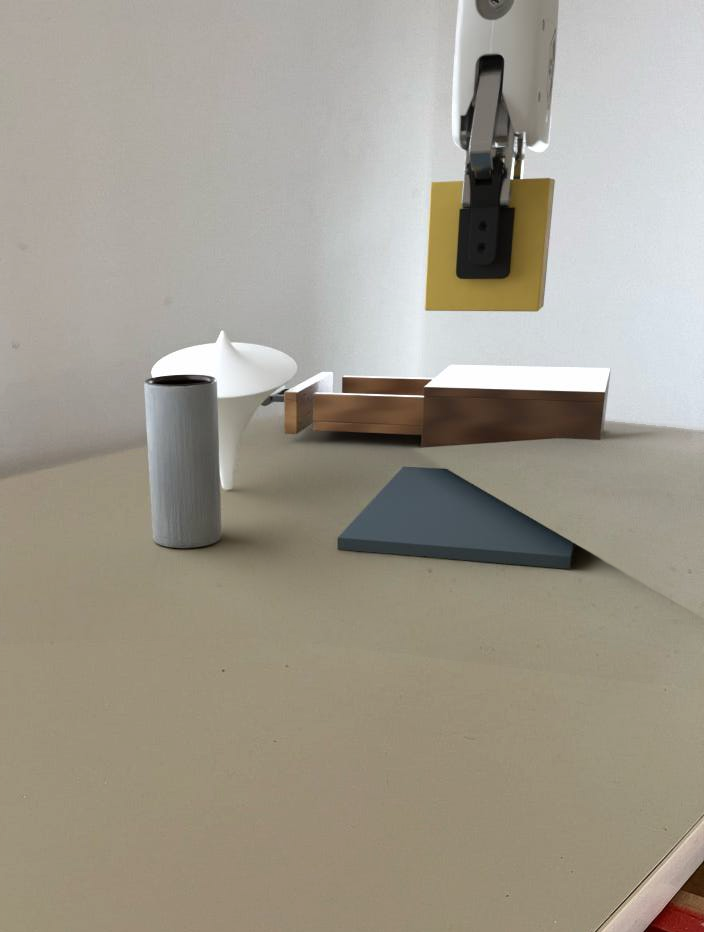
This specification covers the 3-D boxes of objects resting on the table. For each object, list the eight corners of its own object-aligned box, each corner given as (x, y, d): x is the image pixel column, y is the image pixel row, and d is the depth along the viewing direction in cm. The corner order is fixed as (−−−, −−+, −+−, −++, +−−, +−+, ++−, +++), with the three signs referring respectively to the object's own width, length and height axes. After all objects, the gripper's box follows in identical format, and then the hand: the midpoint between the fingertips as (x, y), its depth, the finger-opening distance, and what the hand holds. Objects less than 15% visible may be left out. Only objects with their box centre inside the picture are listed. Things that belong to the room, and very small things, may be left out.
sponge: (424, 310, 65) (430, 181, 63) (434, 306, 68) (440, 183, 66) (538, 311, 63) (550, 177, 60) (543, 306, 66) (555, 179, 63)
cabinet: (420, 452, 90) (423, 386, 88) (447, 422, 101) (450, 364, 99) (597, 460, 85) (605, 392, 83) (603, 429, 96) (610, 368, 94)
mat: (402, 476, 82) (403, 466, 82) (587, 486, 77) (588, 476, 77) (337, 549, 65) (337, 537, 64) (569, 569, 60) (571, 556, 60)
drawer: (244, 431, 96) (243, 390, 94) (285, 408, 106) (284, 370, 105) (431, 440, 90) (433, 396, 88) (454, 415, 100) (457, 375, 99)
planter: (221, 548, 66) (216, 384, 62) (150, 550, 66) (140, 386, 62) (222, 528, 70) (217, 373, 66) (155, 529, 70) (147, 375, 66)
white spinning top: (300, 505, 74) (300, 334, 70) (152, 508, 75) (142, 338, 70) (294, 472, 84) (294, 319, 79) (163, 475, 84) (155, 323, 80)
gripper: (571, -116, 50) (536, 285, 57) (589, -45, 64) (559, 269, 71) (416, -97, 52) (401, 285, 59) (466, -32, 66) (449, 269, 73)
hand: (487, 273), depth 65 cm, fingers closed on sponge, 3 cm apart
